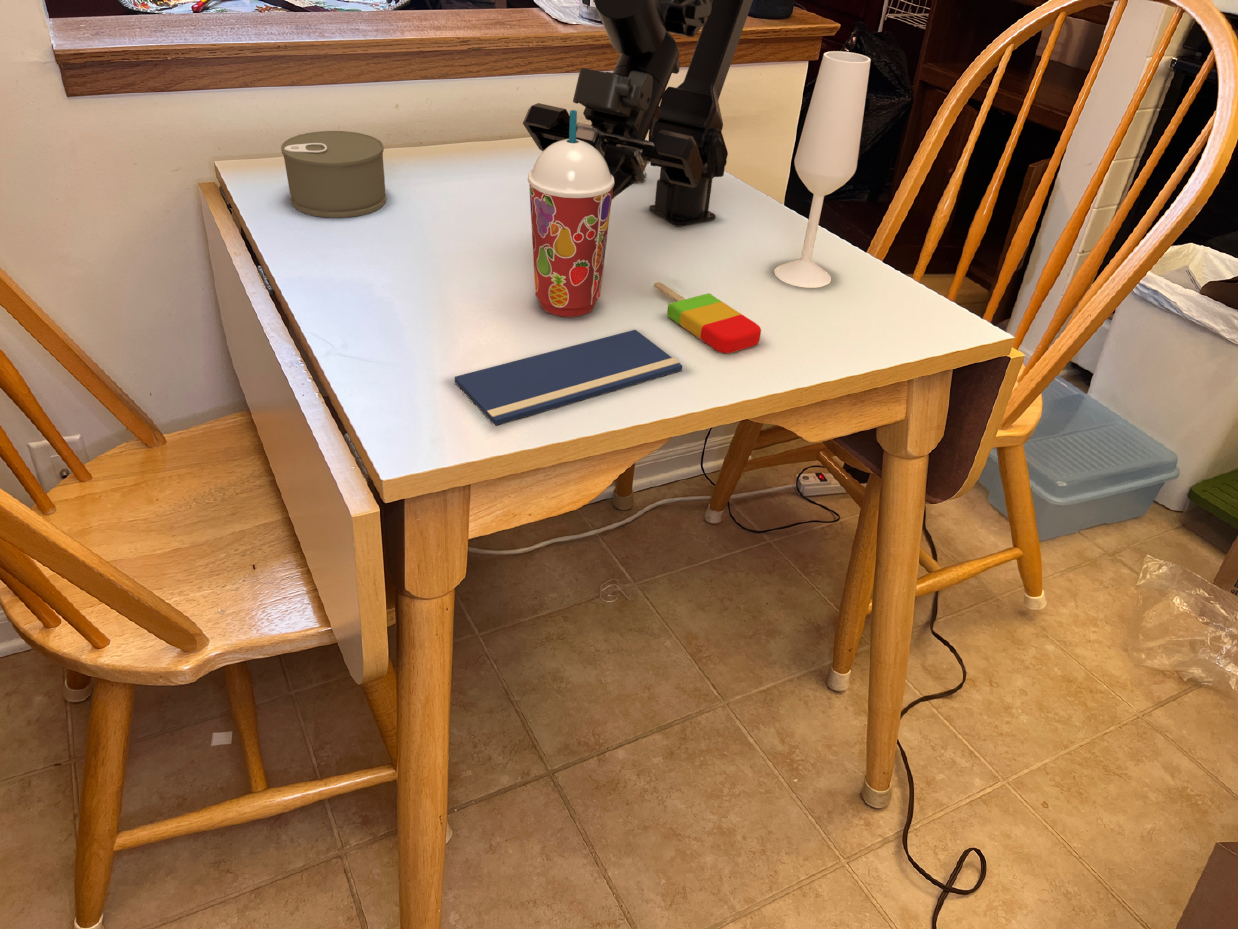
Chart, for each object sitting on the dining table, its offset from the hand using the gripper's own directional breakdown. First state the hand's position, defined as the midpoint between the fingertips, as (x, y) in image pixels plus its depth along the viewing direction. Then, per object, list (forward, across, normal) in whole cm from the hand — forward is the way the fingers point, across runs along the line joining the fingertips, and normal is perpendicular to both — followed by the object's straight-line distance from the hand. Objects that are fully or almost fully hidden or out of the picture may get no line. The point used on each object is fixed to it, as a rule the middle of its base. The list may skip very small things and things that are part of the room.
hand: (583, 218), depth 93 cm
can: (+2, -38, +11) cm, 40 cm away
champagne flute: (-8, +19, +20) cm, 29 cm away
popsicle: (+5, +13, +8) cm, 16 cm away
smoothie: (+8, 0, +4) cm, 9 cm away
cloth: (+17, +7, -4) cm, 19 cm away
